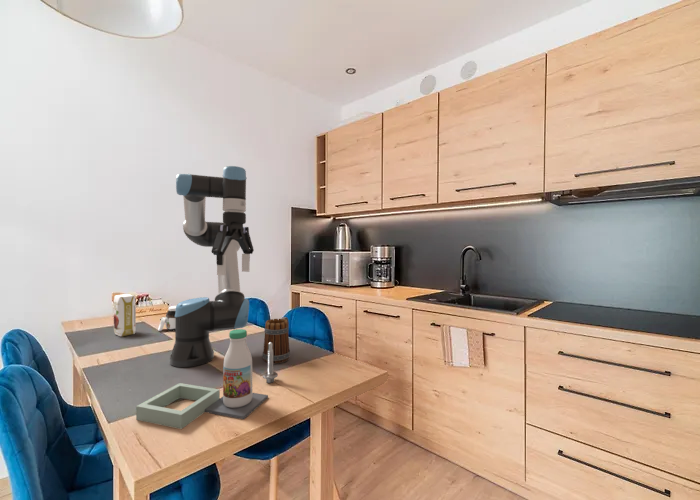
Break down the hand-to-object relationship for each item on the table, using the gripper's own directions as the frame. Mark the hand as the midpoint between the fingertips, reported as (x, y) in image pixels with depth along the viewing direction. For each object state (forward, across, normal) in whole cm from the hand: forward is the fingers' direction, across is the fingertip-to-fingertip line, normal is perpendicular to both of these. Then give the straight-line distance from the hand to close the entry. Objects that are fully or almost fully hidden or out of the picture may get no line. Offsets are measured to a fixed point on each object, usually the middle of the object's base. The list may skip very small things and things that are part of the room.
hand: (234, 273), depth 110 cm
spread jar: (+35, +36, +63) cm, 81 cm away
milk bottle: (+34, -19, -15) cm, 42 cm away
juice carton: (+35, +23, +78) cm, 88 cm away
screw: (+35, -3, -16) cm, 39 cm away
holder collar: (+35, -26, -2) cm, 43 cm away
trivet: (+35, -19, -15) cm, 42 cm away
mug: (+35, +18, -8) cm, 40 cm away
